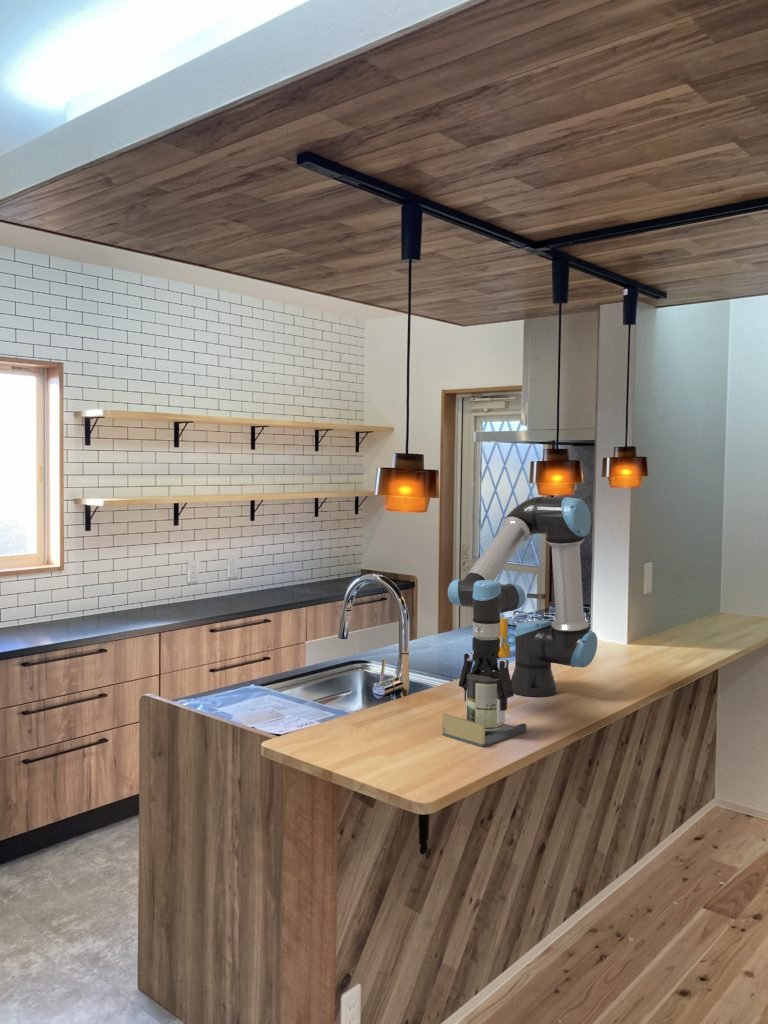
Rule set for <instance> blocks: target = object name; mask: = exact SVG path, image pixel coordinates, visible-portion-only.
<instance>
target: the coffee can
mask: <svg viewBox="0 0 768 1024" xmlns="http://www.w3.org/2000/svg"><path fill="white" fill-rule="evenodd" d="M499 674H500V673H499ZM501 682H502V681H501V678H498V679H492V678H491V676H490V675H489V674H488V672H485V671H481V672H480V673H479V674H475V675H474V674H471V672H470V673H468V674H467V714H466V720H470V721H473V722H477V723H481V724H484V725H485V731H496V730H500V729H502V728H503V727H504V725H503V723H504V722H500V723H497V722H496V718H497V698H499V695H498V693H497V683H501Z"/></svg>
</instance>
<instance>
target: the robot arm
mask: <svg viewBox="0 0 768 1024" xmlns="http://www.w3.org/2000/svg"><path fill="white" fill-rule="evenodd" d="M591 526H592V518H591V512H590V509H589V507H588V505H587V504H586V503H585V502H584V500H583V499H580V498H576V497H569V496H567V497H565V496H556V497H555V496H553V497H552V496H551V497H550V496H545V497H544V496H534V497H531V498H527V500H524V501H523V502H521V503H520V504H518V505H517V506H516V507H514V508H513V509H512V510H511V511H510V512H509V513H507V515H506V517H504V519H503V520H502V523H501V528H500V529H499V531H498V532H497V534H496V535H495V536H494V538H493V539H492V540H491V542H490V543H489V545H488V546H487V547H486V549H485V550H484V551H483V553H482V554H481V555H480V556H479V558H478V559H477V561H476V562H475V563H474V564H473V566H472V567H471V569H469V571H468V573H467V574H466V576H465V577H464V578H463V579H461V578H459V579H454V580H452V581H451V582H450V583H449V585H448V588H447V597H448V601H449V602H450V603H451V604H453V605H456V606H459V607H463V608H464V607H465V608H472V636H473V637H472V645H471V649H472V652H473V653H472V652H468V653H464V654H463V665H462V670H461V673H460V677H459V682H458V687H460V688H462V689H463V690H464V702H465V714H466V715H467V674H468V673H471V674H474V675H475V674H479V673H480V672H481V671H485V672H488V674H489V675H490V676H491V678H492V679H498V678H501V681H502V682H501V683H497V693H498V695H499V698H497V718H496V722H497V723H500V722H503V723H504V722H506V711H507V710H508V699H509V698H512V697H514V695H519V696H524V697H533V698H534V697H536V698H537V697H539V698H540V697H542V698H543V697H549V696H554V695H555V694H556V693H557V684H556V681H555V678H554V674H553V671H552V664H557V665H561V666H568V667H571V668H575V667H576V668H587V667H588V666H589V665H590V664H591V663H592V662H593V660H594V658H595V655H596V654H597V649H598V636H597V634H596V632H595V631H593V630H590V623H589V622H588V621H587V619H585V617H584V616H585V614H584V602H583V601H584V598H583V597H584V596H583V584H582V583H583V581H582V580H583V579H582V564H581V562H582V561H581V544H582V543H583V542H584V541H585V536H588V534H589V533H590V530H591ZM537 534H542V535H545V540H546V543H547V544H548V545H550V547H551V557H552V558H551V559H552V560H551V561H552V575H553V577H552V578H553V589H554V590H553V591H554V592H553V593H554V607H555V608H554V609H555V620H554V621H553V622H552V621H551V620H547V619H545V620H540V619H539V620H528V621H522V622H519V623H518V624H517V625H516V626H515V634H514V635H515V645H514V648H515V650H514V651H515V652H514V653H515V654H514V655H515V657H514V658H515V660H514V662H515V664H514V665H515V666H514V669H513V672H512V675H510V670H509V665H510V663H509V660H508V659H502V658H501V659H500V657H499V655H498V654H499V651H500V639H499V638H498V637H499V636H500V617H501V614H503V613H507V612H513V611H515V610H518V609H521V608H522V607H523V606H524V604H525V602H526V593H525V590H524V589H523V587H522V586H521V585H520V584H517V583H506V584H503V583H500V581H498V580H496V578H497V577H498V576H499V574H501V572H502V570H503V569H504V567H505V566H506V564H507V563H508V562H509V560H510V559H511V557H512V556H513V554H515V552H516V550H517V549H518V548H519V546H520V545H521V544H522V543H523V542H526V541H528V539H529V538H530V537H531V536H532V535H537ZM499 673H500V674H499Z"/></svg>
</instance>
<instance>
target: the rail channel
mask: <svg viewBox="0 0 768 1024" xmlns="http://www.w3.org/2000/svg"><path fill="white" fill-rule="evenodd" d="M503 725H504V727H503V728H502V729H500V730H496V731H485V725H484V724H481V723H477V722H473V721H470V720H467V718H466V719H465V718H463V717H458V716H455V715H452V714H448V713H443V714H442V736H443V737H445V738H446V737H447V738H450V739H454V740H457V741H460V742H463V743H466V744H470V745H474V746H475V747H480V748H485V747H487V746H490V745H494V744H496V743H498V742H502V741H505V740H509V739H511V738H514V737H517V736H519V735H523V734H526V733H527V724H526V723H520V724H517V725H515V726H514V725H511V724H507V723H504V722H503Z"/></svg>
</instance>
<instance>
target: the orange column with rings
mask: <svg viewBox="0 0 768 1024" xmlns="http://www.w3.org/2000/svg"><path fill="white" fill-rule="evenodd" d="M508 619H509V618H508V617H505V616H504V617H502V616H500V636H499V637H498V638H499V639H500V651H499V654H498V655H499V658H501V659H502V658H504V659H505V658H510V656H511V647H515V634H514V633H509V632H508V628H509V627H508V626H509V625H508V623H509V620H508ZM508 633H509V634H508ZM510 638H511V639H512V642H511V641H510Z"/></svg>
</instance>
